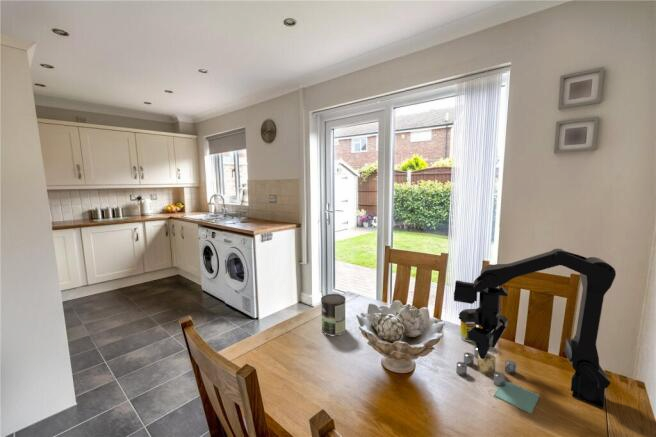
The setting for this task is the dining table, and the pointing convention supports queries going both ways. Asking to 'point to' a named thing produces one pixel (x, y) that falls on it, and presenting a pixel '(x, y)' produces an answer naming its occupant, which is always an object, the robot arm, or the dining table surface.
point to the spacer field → (498, 377)
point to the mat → (517, 396)
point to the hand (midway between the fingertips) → (487, 352)
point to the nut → (487, 365)
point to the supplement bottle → (466, 330)
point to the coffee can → (333, 314)
